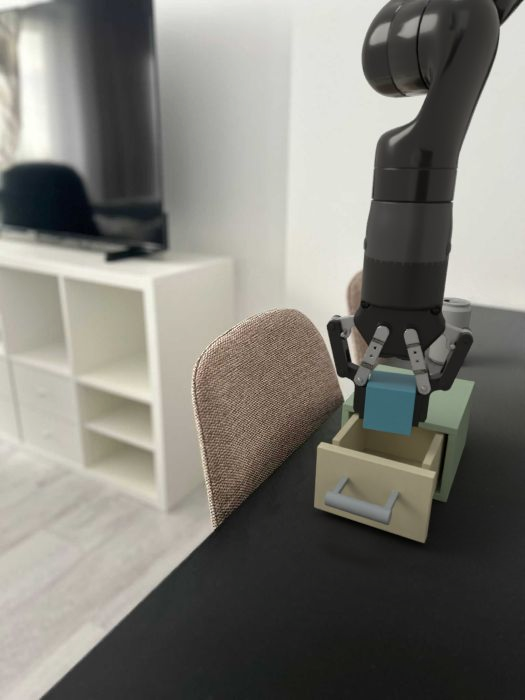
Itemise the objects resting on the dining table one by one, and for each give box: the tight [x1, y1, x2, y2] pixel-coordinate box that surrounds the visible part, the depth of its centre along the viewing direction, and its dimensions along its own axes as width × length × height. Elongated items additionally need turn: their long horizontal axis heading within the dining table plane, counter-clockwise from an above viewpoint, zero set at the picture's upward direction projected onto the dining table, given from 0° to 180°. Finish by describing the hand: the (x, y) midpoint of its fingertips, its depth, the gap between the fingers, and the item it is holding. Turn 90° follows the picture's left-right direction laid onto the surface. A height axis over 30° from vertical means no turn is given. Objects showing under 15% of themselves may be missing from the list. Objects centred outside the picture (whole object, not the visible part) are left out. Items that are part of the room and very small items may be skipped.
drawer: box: [313, 413, 448, 544], centre depth 54 cm, size 18×11×7 cm, turn 152°
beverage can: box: [428, 296, 472, 366], centre depth 97 cm, size 6×6×12 cm
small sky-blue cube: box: [363, 369, 417, 436], centre depth 52 cm, size 5×5×5 cm
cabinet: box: [340, 364, 476, 503], centre depth 64 cm, size 15×13×9 cm
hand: (388, 418), depth 52 cm, fingers closed on small sky-blue cube, 4 cm apart
